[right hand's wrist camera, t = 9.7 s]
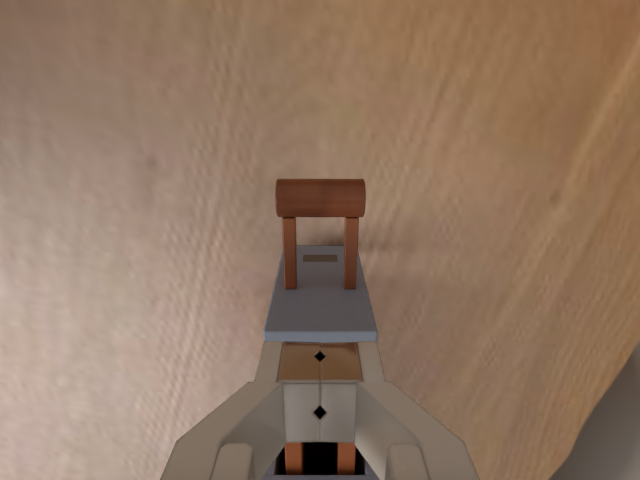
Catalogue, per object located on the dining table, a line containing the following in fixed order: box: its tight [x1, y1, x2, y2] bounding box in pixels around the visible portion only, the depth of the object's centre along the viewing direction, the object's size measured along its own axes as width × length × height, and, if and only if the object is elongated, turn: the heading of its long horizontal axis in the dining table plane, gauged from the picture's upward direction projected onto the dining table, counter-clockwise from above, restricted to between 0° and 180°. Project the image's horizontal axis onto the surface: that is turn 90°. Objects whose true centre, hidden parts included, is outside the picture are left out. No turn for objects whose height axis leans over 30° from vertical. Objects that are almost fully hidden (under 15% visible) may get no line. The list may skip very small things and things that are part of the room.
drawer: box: [263, 179, 378, 475], centre depth 22 cm, size 24×5×10 cm, turn 0°
